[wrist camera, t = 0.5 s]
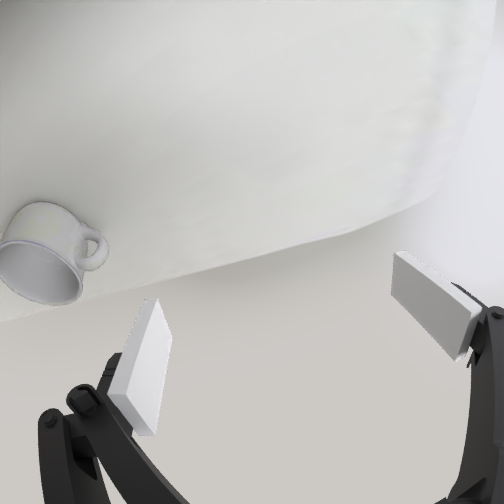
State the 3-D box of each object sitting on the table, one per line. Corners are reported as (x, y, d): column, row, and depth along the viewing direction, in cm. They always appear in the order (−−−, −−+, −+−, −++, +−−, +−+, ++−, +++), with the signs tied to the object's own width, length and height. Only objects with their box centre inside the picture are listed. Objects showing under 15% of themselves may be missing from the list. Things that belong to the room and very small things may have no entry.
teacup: (33, 253, 29) (21, 306, 24) (1, 192, 20) (-25, 250, 16) (124, 246, 32) (121, 304, 28) (108, 177, 24) (94, 240, 19)
